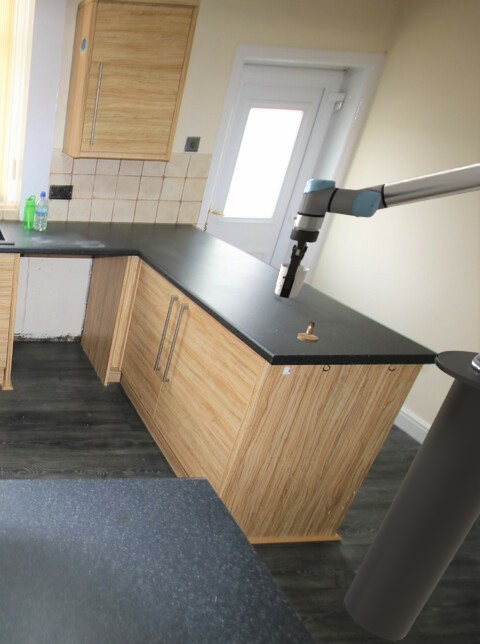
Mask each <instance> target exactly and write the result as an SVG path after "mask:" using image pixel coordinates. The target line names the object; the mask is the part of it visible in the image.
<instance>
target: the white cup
mask: <svg viewBox="0 0 480 644" xmlns="http://www.w3.org/2000/svg"><path fill="white" fill-rule="evenodd" d="M289 265H290V262H289V263H287V262H286V263H281V266H280V269H279V273H278V276H277V281H276V285H275V288H274V294H276V295H278V296H280V293H281V289H282V286H283V283H284V280H285V279H284V278H283V276H286V274H287V271H288V268H289ZM309 271H310V269H309V268H308V267H307V266H305V265H301V264H300V265H299V266H298V269H297V272H296V275H295V279H294V283H293V286H292V289H291V292H290V295H289V298H288V299H295V298H298V296H299V294H300V291H301V289H302V287H303V284H305V283H304V282H305V280H306V278H307V275H308V273H309ZM292 276H293V275H292Z"/></svg>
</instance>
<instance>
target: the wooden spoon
mask: <svg viewBox="0 0 480 644" xmlns="http://www.w3.org/2000/svg"><path fill="white" fill-rule="evenodd" d="M307 325H308V326H307V328H306V332H299V333H298V334H297V336H296V337H297V339H298V340H300V341H302V342H305V343H310V344H316V343H318V340H319V337H318V336H316V335H314V334H313V331H314V327H315V322H314V321H309V322H308V324H307Z"/></svg>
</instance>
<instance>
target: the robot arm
mask: <svg viewBox="0 0 480 644" xmlns="http://www.w3.org/2000/svg"><path fill="white" fill-rule="evenodd" d="M478 191H480V161H479V162H475V163H470V164H466V165H462V166H457V167H453V168H448V169H445V170H438V171H436V172H431V173H427V174H422V175H418V176H413V177H408V178H404V179H399V180H395V181H391V182H386V183H382V184H378V185H374V186H368V187H364V188H359V189H352V188H341V187H336V181H335V180H331V179H323V178H322V179H321V178H312V179H310V180H308V181H307V182H306V185H305V187H304V190H303V192H302V195H301V200H300V203H299V206H298V210H297V213H296V216H293V220H294V223H293V226H294V227H293V228H292V229H291V232H290V235H289V239H290V240H292V241H295V242H296V244H293V246H292V248H291V255H290V261H289V263H290V265H289V268H288V271H287V274H286V276H283V278H284V279H285V280H284V283H283V286H282V289H281V293H280V295H278V296H279V298H283V299H290V298H289V295H290V292H291V289H292V286H293V283H294V279H295V275H296V272H297V269H298V266H299V265H301V263H302V261H303V260H304V257H305V255H306V253H307V251H308V248H309V246H307V245H308V244H313V243H316V242H317V241H318V239H319V236H320V230H321V229H322V227H323V223H324V220H325V217H326V214H327V213H330V214H338V215H345V216H352V217H356V218H371V217H373V216H374V215H375V214H376V213H377V211H378V210H383V209H388V208H394V207H398V206H399V207H400V206H404V205H410V204H415V203H420V202H425V201H430V200H435V199H441V198H446V197H451V196H455V195H456V196H457V195H461V194H467V193H472V192H478ZM292 275H293V276H292ZM478 353H479V354H478V355H477V356H476V357H475V358H474V359H473V360H472V362H471V367H472V368H474V369H475V370H477V371H478V372H480V352H478Z"/></svg>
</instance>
